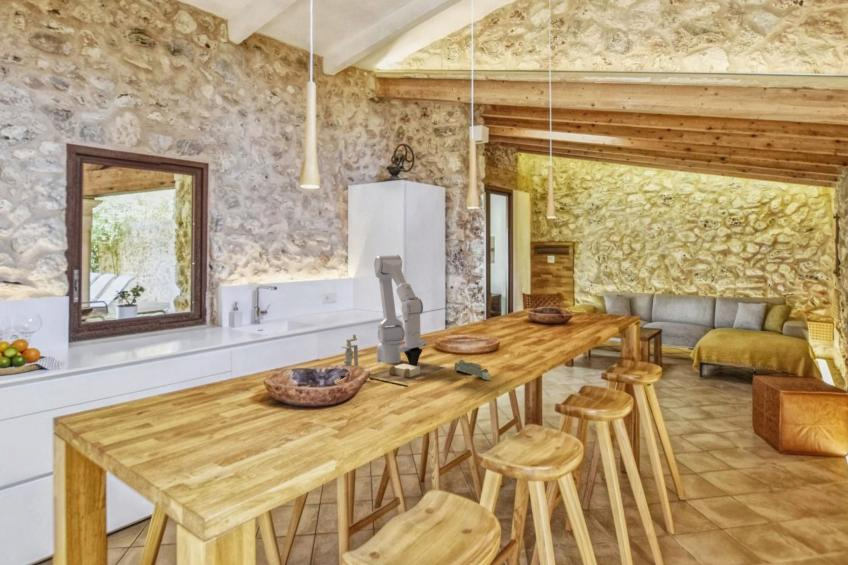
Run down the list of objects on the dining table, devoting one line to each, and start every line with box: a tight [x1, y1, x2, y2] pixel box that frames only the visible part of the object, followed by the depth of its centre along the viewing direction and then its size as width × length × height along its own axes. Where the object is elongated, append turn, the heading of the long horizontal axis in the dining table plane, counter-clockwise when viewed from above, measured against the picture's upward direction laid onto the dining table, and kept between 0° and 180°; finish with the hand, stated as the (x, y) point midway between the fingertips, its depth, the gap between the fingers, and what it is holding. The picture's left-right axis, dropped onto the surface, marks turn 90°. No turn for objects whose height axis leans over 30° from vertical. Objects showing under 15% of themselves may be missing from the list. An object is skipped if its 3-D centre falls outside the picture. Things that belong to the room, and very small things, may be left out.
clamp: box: [341, 334, 359, 367], centre depth 179 cm, size 4×10×15 cm, turn 160°
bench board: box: [368, 362, 446, 388], centre depth 180 cm, size 17×24×4 cm
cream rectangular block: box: [394, 363, 420, 377], centre depth 177 cm, size 8×6×2 cm
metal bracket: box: [453, 359, 492, 382], centre depth 179 cm, size 14×6×15 cm
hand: (413, 368), depth 180 cm, fingers closed
